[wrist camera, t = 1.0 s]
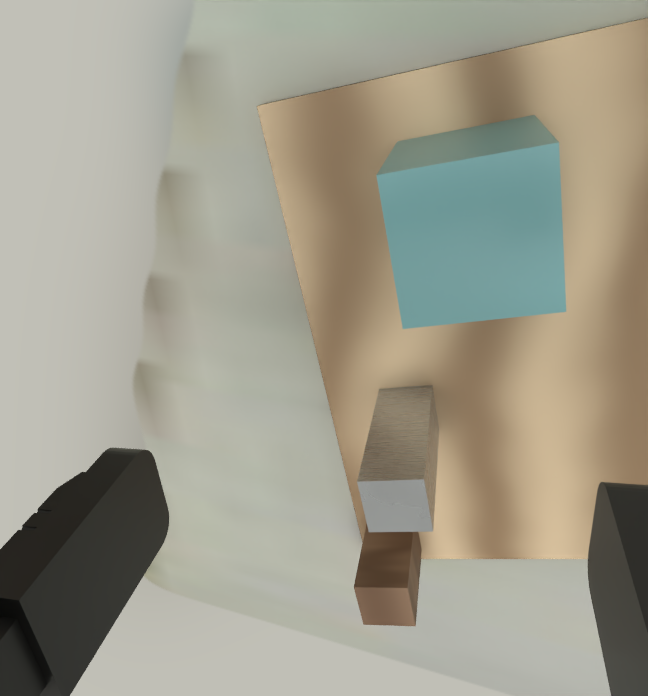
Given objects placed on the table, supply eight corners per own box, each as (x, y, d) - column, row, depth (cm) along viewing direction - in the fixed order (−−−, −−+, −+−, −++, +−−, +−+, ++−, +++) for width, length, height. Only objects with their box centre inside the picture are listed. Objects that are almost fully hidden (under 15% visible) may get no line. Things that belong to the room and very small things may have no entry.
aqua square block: (534, 114, 22) (558, 142, 17) (542, 247, 25) (566, 311, 19) (397, 141, 24) (376, 175, 18) (416, 264, 26) (402, 329, 20)
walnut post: (415, 514, 32) (407, 588, 28) (421, 549, 33) (415, 626, 29) (368, 514, 33) (354, 587, 29) (376, 549, 34) (363, 624, 30)
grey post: (432, 384, 29) (424, 479, 22) (439, 429, 30) (433, 531, 24) (379, 388, 29) (356, 481, 23) (387, 432, 30) (368, 532, 24)
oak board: (694, 7, 20) (700, 6, 20) (670, 550, 31) (673, 558, 30) (261, 104, 25) (256, 106, 24) (367, 551, 35) (366, 558, 35)
